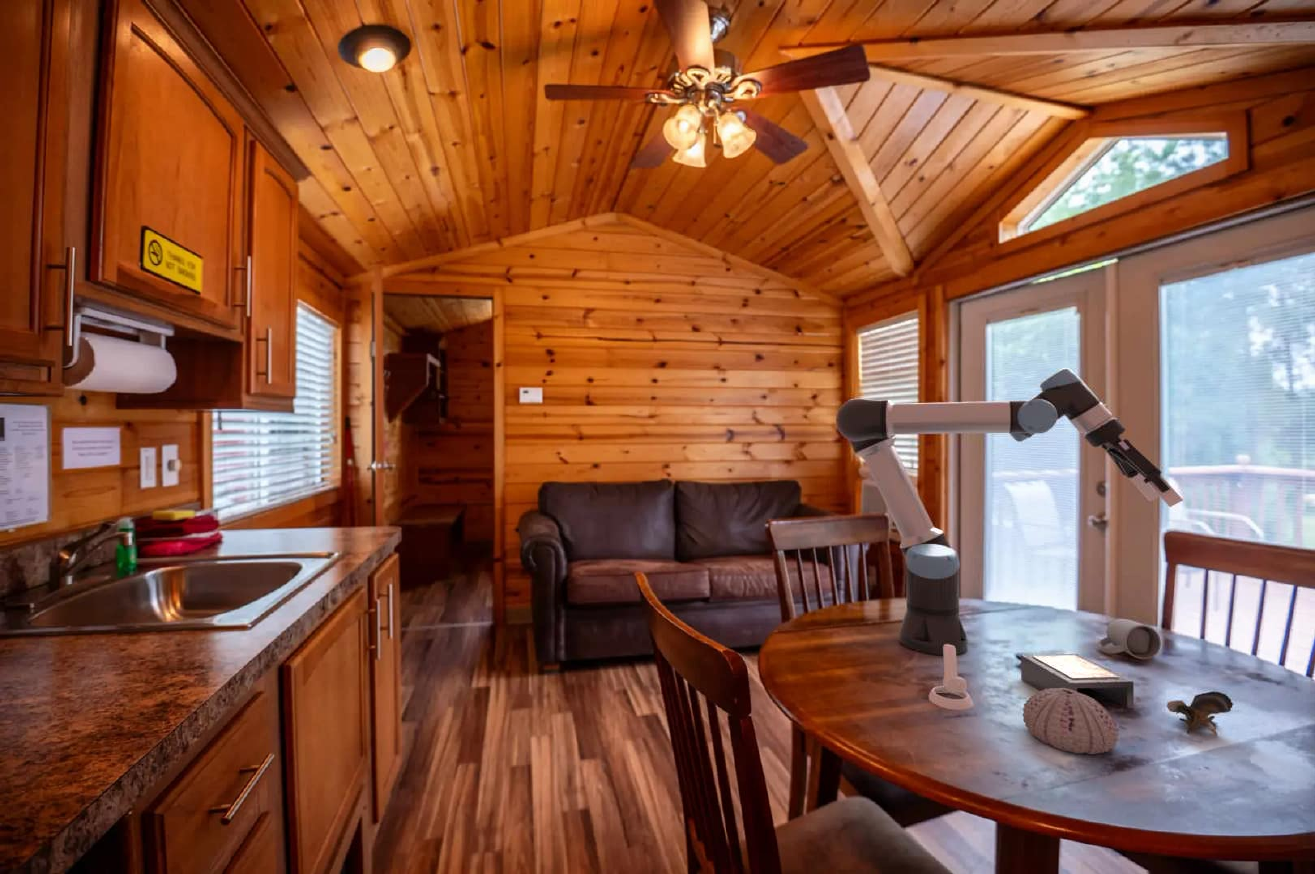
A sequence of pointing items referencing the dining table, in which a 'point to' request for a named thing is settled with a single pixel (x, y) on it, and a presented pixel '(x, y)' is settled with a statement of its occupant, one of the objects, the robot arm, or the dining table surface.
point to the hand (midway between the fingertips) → (1165, 501)
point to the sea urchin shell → (1070, 721)
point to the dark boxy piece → (1076, 676)
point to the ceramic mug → (1131, 639)
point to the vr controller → (951, 684)
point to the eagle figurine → (1202, 709)
